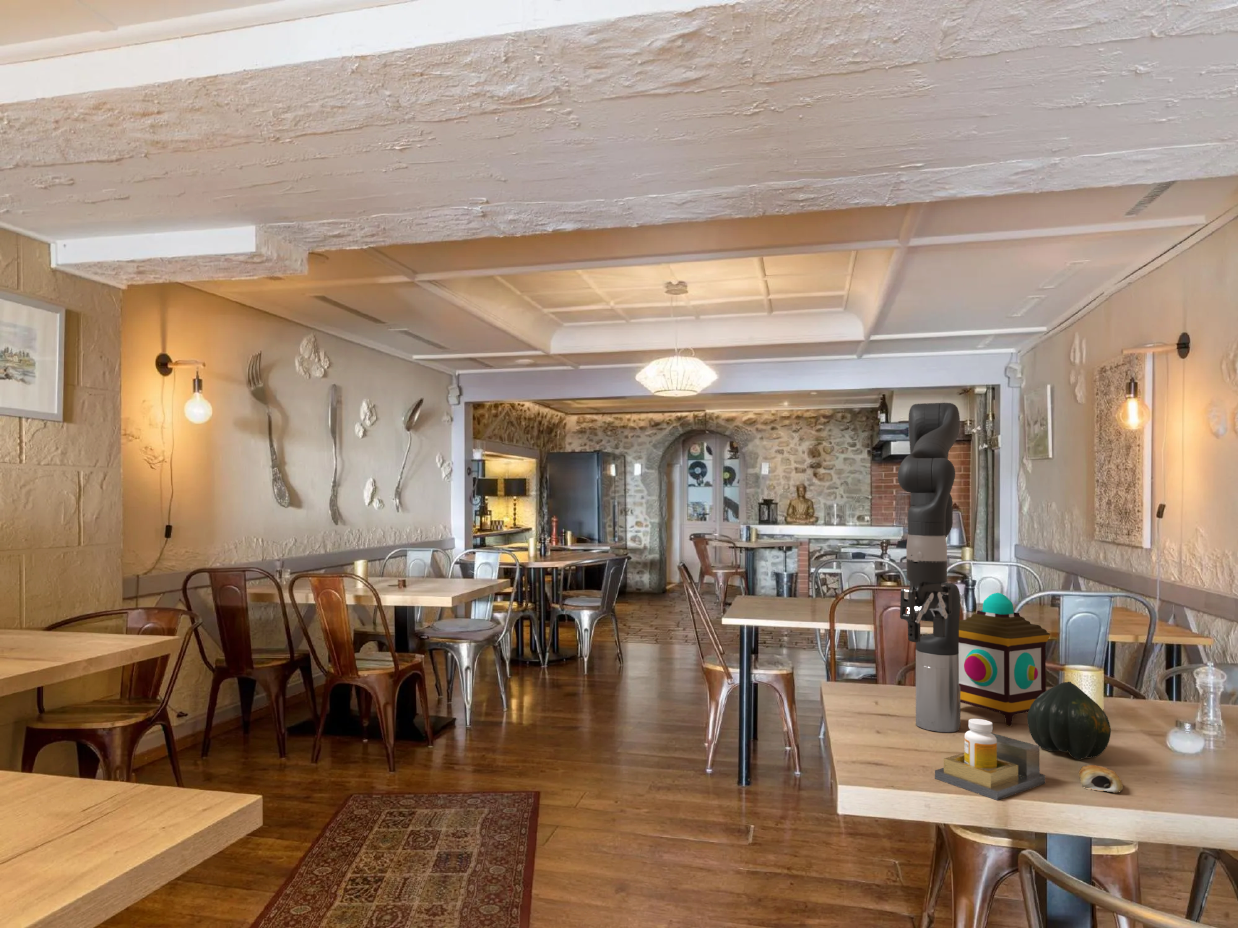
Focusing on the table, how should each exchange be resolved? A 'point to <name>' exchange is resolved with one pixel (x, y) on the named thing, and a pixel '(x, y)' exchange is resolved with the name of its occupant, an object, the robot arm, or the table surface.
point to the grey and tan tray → (997, 770)
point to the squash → (1069, 722)
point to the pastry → (1100, 778)
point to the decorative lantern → (1001, 659)
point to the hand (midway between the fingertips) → (926, 639)
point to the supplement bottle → (980, 745)
